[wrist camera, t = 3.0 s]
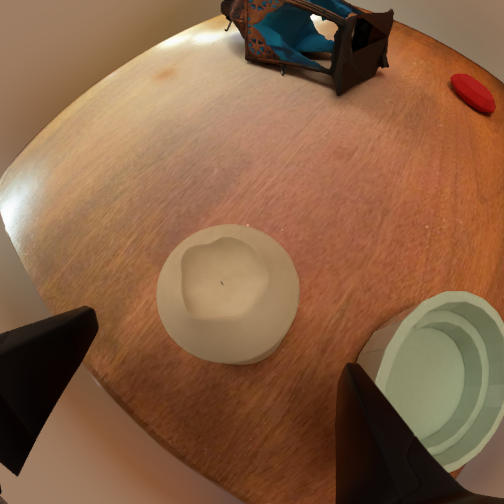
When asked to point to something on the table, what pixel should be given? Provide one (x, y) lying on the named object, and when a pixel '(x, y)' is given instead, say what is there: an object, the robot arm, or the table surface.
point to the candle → (228, 294)
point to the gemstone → (473, 92)
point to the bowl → (443, 372)
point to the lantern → (313, 36)
